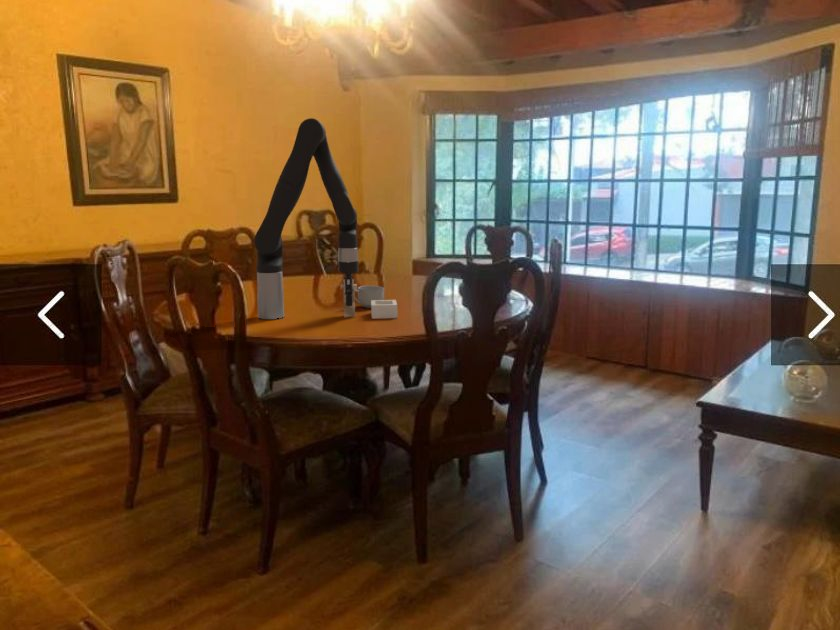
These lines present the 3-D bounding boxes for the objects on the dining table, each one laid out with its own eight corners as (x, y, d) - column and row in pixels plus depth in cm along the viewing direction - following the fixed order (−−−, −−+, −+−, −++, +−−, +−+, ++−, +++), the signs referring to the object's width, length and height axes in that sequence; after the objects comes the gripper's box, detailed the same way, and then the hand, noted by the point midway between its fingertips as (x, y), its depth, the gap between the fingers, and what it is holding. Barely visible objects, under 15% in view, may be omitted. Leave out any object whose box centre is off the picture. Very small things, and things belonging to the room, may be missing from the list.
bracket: (341, 317, 250) (340, 285, 248) (341, 315, 254) (340, 284, 252) (357, 317, 251) (356, 285, 249) (357, 315, 255) (356, 283, 253)
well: (371, 318, 248) (371, 305, 247) (371, 313, 259) (371, 300, 258) (397, 318, 249) (397, 304, 248) (395, 312, 260) (395, 299, 259)
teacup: (380, 303, 279) (379, 284, 278) (388, 308, 269) (387, 288, 268) (347, 306, 274) (346, 286, 273) (354, 310, 264) (353, 290, 263)
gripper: (338, 257, 255) (339, 301, 258) (337, 262, 241) (338, 307, 244) (358, 257, 256) (359, 300, 259) (358, 261, 242) (359, 307, 245)
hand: (349, 304), depth 252 cm, fingers open, 6 cm apart
